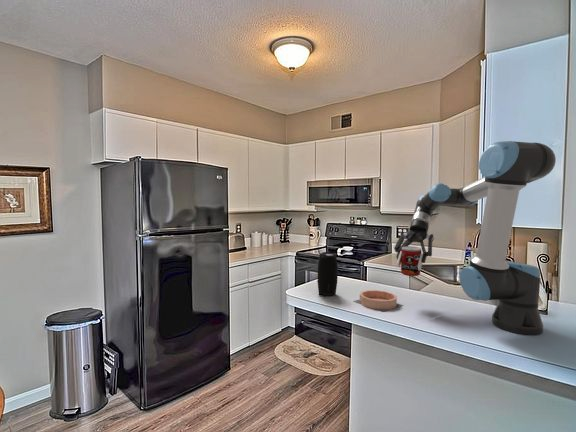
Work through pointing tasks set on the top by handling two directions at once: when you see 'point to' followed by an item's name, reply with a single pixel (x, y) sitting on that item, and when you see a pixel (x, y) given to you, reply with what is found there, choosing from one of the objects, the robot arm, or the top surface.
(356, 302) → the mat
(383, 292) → the bowl
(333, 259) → the portable speaker
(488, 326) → the top surface
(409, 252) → the canned food
